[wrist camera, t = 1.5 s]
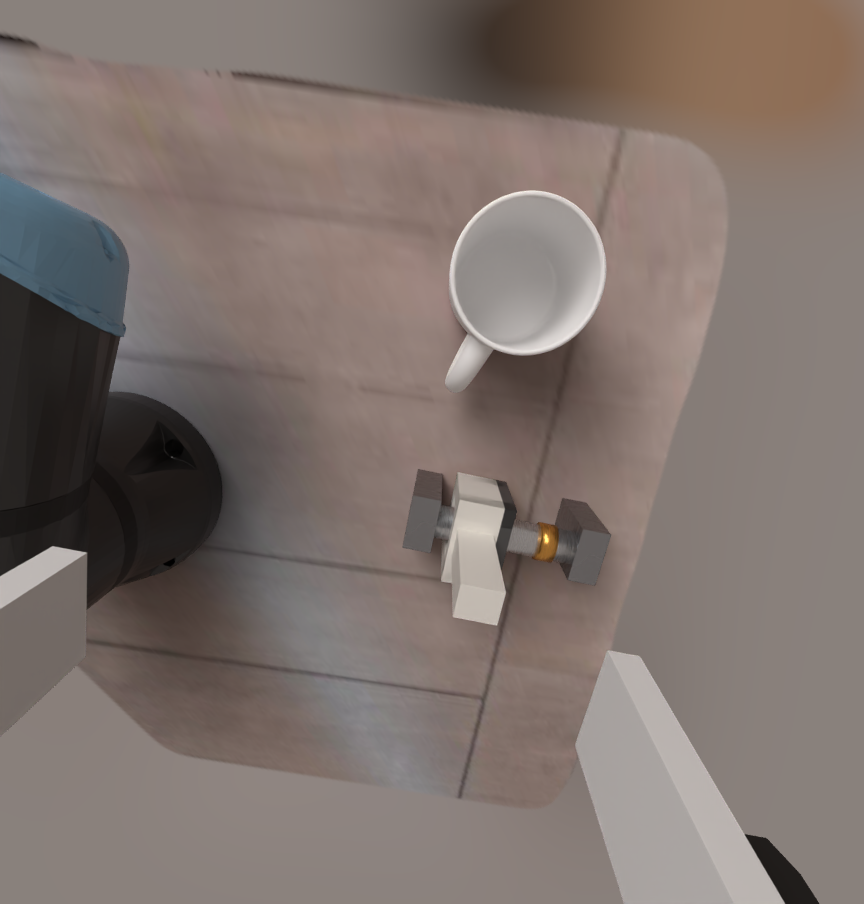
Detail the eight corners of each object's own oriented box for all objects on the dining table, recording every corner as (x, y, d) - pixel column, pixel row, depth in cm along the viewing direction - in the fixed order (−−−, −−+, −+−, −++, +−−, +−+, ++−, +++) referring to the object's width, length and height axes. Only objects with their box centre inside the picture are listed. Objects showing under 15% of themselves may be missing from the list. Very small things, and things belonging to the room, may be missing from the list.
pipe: (408, 514, 40) (402, 548, 34) (418, 469, 39) (412, 496, 33) (573, 546, 41) (595, 586, 35) (586, 502, 40) (611, 535, 34)
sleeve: (441, 542, 39) (439, 647, 26) (457, 472, 37) (463, 548, 25) (488, 551, 39) (508, 661, 26) (506, 481, 37) (536, 562, 25)
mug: (492, 408, 38) (509, 439, 28) (401, 351, 37) (385, 362, 27) (584, 269, 35) (639, 248, 25) (489, 204, 34) (506, 155, 24)
